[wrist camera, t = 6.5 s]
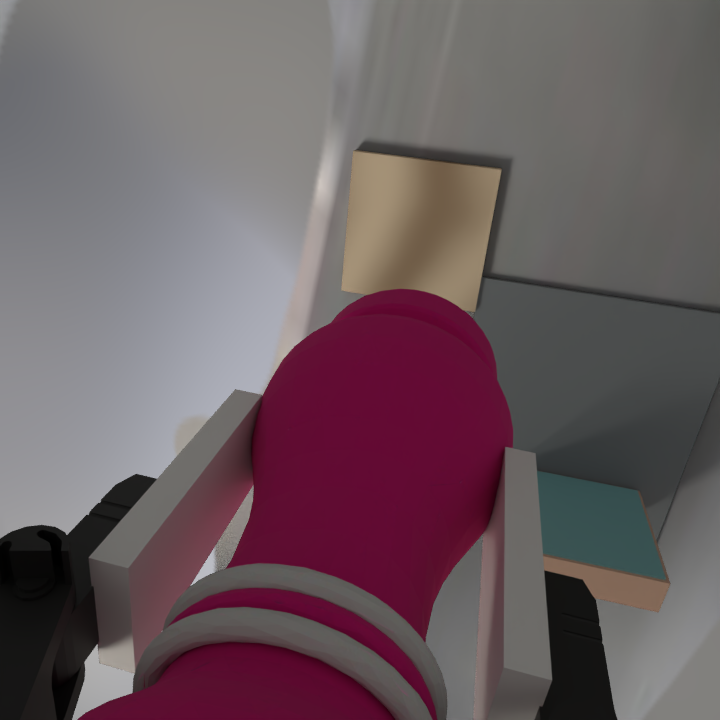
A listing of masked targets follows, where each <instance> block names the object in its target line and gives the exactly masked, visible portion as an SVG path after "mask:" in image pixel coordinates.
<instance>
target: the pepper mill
mask: <svg viewBox="0 0 720 720" xmlns="http://www.w3.org/2000/svg"><path fill="white" fill-rule="evenodd" d="M505 447H509V448H513V425H512V420H511V414H510V410H509V407H508V404H507V401H506V398H505V395H504V393H503V391H502V389H501V387H500V385H499V382H498V380H497V367H496V361H495V357H494V353H493V350H492V347H491V345H490V342H489V341H488V339H487V337H486V335H485V334H484V332H483V330H482V329H481V328H480V327H479V325H478V324H477V323H476V322H475V321H474V320H473V319H472V318H471V316H470V315H469V314H467V313H466V312H465V311H464V310H462V309H461V308H460V307H458V306H457V305H455V304H454V303H452V302H450V301H449V300H447V299H444V298H442V297H440V296H438V295H435V294H432V293H428V292H425V291H419V290H414V289H392V290H384V291H379V292H376V293H373V294H369V295H366V296H364V297H362V298H360V299H358V300H357V301H355V302H353V303H351V304H350V305H348V306H347V307H346V308H345V309H343V310H342V311H341V312H340V313H339V314H338V315H337V316H336V317H335V318H334V320H333V321H332V322H331V323H330V324H328V325H326V326H324V327H322V328H320V329H318V330H317V331H315V332H313V333H312V334H310V335H309V336H307V337H306V338H305V339H304V340H302V341H301V342H300V343H299V344H297V345H296V346H295V347H294V348H293V349H292V350H291V351H290V352H289V354H288V355H287V356H286V357H285V358H284V359H283V361H282V362H281V364H280V366H279V367H278V369H277V370H276V372H275V374H274V375H273V377H272V379H271V380H270V382H269V384H268V386H267V388H266V390H265V392H264V394H263V396H262V402H261V405H260V408H259V411H258V414H257V418H256V422H255V427H254V431H253V435H252V449H251V457H252V471H253V484H254V495H253V504H252V508H251V513H250V518H249V521H248V523H247V525H246V527H245V530H244V532H243V534H242V537H241V539H240V541H239V544H238V546H237V548H236V551H235V553H234V555H233V558H232V560H231V562H230V563H229V565H228V566H227V567H226V569H223V570H221V571H218V572H215V573H213V574H210V575H208V576H206V577H204V578H202V579H201V580H199V581H197V582H196V583H195V584H193V585H192V586H190V587H189V588H187V590H186V591H185V592H184V593H183V594H182V595H181V596H180V597H179V598H178V599H177V600H176V602H175V604H174V605H173V607H172V608H171V610H170V612H169V614H168V616H167V618H166V620H165V623H164V627H163V631H162V632H161V633H160V634H159V635H157V636H156V637H155V638H154V639H153V640H152V641H151V643H150V644H149V645H148V646H147V647H146V649H145V650H144V652H143V654H142V656H141V658H140V661H139V663H138V665H137V668H136V671H135V675H134V679H133V680H134V681H133V693H132V694H129V695H126V696H123V697H120V698H117V699H114V700H111V701H109V702H106V703H104V704H102V705H101V706H98V707H96V708H94V709H92V710H90V711H88V712H86V713H85V714H84V715H82V716H81V717H80V718H79V719H78V720H446V715H447V693H446V688H445V684H444V680H443V676H442V673H441V671H440V668H439V666H438V664H437V662H436V660H435V658H434V656H433V654H432V653H431V651H430V649H429V648H428V646H427V645H426V643H425V641H426V634H427V629H428V625H429V621H430V616H431V612H432V607H433V603H434V601H435V599H436V597H437V595H438V593H439V590H440V588H441V586H442V584H443V582H444V581H445V580H446V578H447V577H448V575H449V574H450V572H451V571H452V569H453V568H454V567H455V565H456V564H457V563H458V562H459V561H460V559H461V558H462V557H463V556H464V555H465V554H466V553H467V551H468V550H469V549H470V548H471V547H472V546H473V545H474V543H475V542H476V541H477V540H478V539H479V538H480V536H481V535H482V534H483V532H484V531H485V530H486V528H487V526H488V524H489V521H490V518H491V515H492V511H493V507H494V503H495V499H496V494H497V489H498V485H499V480H500V474H501V468H502V461H503V455H504V450H505Z"/></svg>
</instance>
